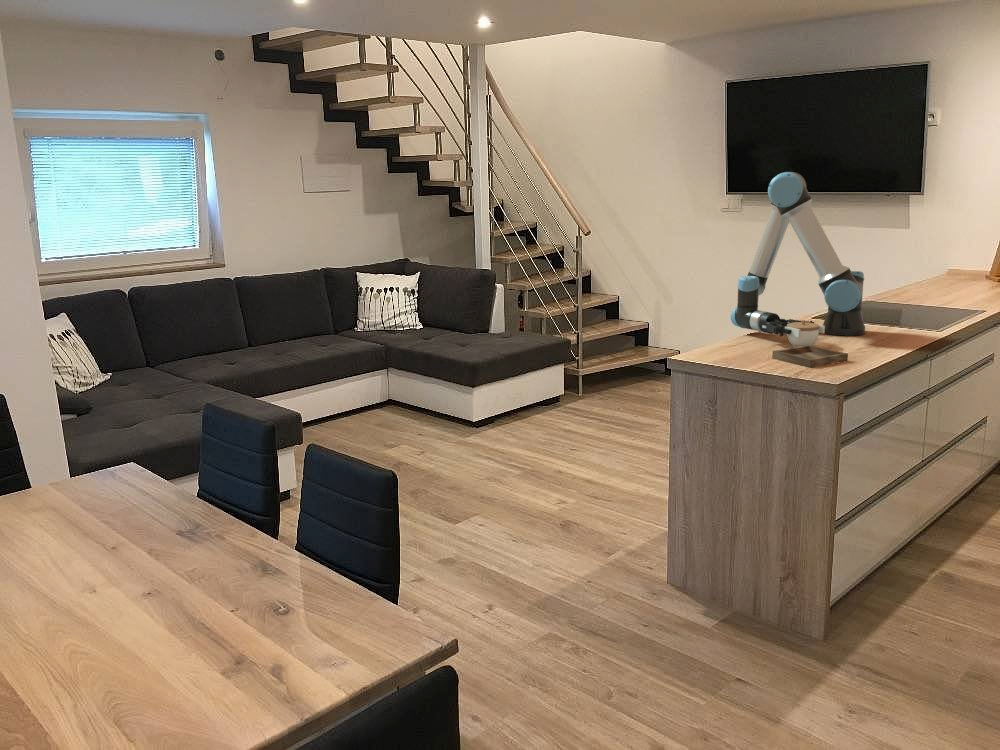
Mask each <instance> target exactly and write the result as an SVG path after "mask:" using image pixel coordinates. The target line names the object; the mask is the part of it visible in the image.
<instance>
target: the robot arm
mask: <svg viewBox="0 0 1000 750" xmlns="http://www.w3.org/2000/svg"><path fill="white" fill-rule="evenodd" d="M767 195H768V198H769V200H770V201H771V203H770V206H771V210H770V213H769V216H768V219H767V222H766V224H765V226H764V227H765V228H764V230H763V233H762V235H761V238H760V241H759V243H758V246H757V249H756V251H755V254H754V257H753V259H752V262H751V265H750V267H749V271H748V274H747V275H743V276H740V277H739V278H738V283H737V306H736V307H735V308H734V309H732V311H731V314H730V321H731V323H732V325H734V326H736V327H737V328H738V327H739V328H741V329H747V330H753V331H755V332H756V331H757V332H758V333H760V334H761V333H764V334H769V335H773V334H774V335H776V336H777V335H778V334H779V336H780V337H785V336H787V335H790V336H794V337H800V329H796V328H791V327H787V324H789V323H794V322H802V320H799V319H798V320H797V319H791V318H789V319H785V318H780V316H779V314H777V313H773V312H768V311H765V310H759V296H761V295H762V294H764V292H765V290H766V284H767V282H768V278H769V276H770V274H771V271H772V268H773V266H774V263H775V260H776V257H777V256H778V255H777V254H778V252H779V250H780V247H781V244H782V241H783V240H784V237H785V234H786V231H787V229H788V226H789V223H790V225H791V227H792V229H793V231H794V232H795V235H796V236H797V239H798V240H799V242H800V244H801V245H802V247H803V250H804V251H805V253H806V254H807V256H808V258H809V261H810V262H811V264H812V266H813V267H814V269H815V272H816V273H817V275H818V277H819V279H818V281H817V284H818V287H819V288H820V290H821V292H822V294H823V296H824V298H823V299H824V302H825V304H826V305H827V313H826V315H825V317H824V321H823V323H822V324H818V323H817V324H818V325H819V326H820V327H819V334H824V335H825V334H827V335H832V336H840V335H842V337H844V336H845V337H846V336H847V337H848V336H849V337H853V336H862V335H864V334H866V325H865V323H864V322H865V321H864V318H863V313H862V307H863V293H864V281H865V277H864V276H865V275H864V272H863V271H862V270H861V271H860V270H859V271H856V270H855V271H854V270H851V269H850V267H848V266H845V265H843V263H842V262H841V260H840V258H839V256H838V254H837V253H836V251H835V249H834V247H833V245H832V244H831V241H830V239H829V238H828V236H827V234H826V232H825V231H824V228H823V227H822V225H821V223H820V222H819V220H818V217H817V216H816V214H815V212H814V210H813V208H812V207H811V204H812V201H813V198H812V197H811V195H810V193H809V191H808V189H807V183H806V180H805V178H804V177H803V175H801V174H800V173H799V172H794V171H785V172H781V173H779V174H778V173H777V175H775V176H774V177H773V178H772V179H771V181H770V182H769V183H768V188H767ZM805 322H808V323H815V321H813V320H810V321H809V320H808V321H807V320H805ZM784 335H785V336H784ZM843 335H844V336H843Z"/></svg>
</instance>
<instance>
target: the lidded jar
mask: <svg viewBox="0 0 1000 750" xmlns="http://www.w3.org/2000/svg"><path fill="white" fill-rule="evenodd" d="M801 321H802V322H794V323H789V324H787V327H791V328H796V329H800V337H794V336H790V335H786V336H787V339H788V341H789V344H791V346H792V348H794V347H800V346H807V345H811V346H815V344H816V343H817V340H818V338H819V334H820V333H819V327H820V326H819V325H820V324H819V325H818V323H815V322H814V323H808V322H805V321H806V320H805V319H802V320H801Z"/></svg>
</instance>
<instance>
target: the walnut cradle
mask: <svg viewBox="0 0 1000 750" xmlns="http://www.w3.org/2000/svg"><path fill="white" fill-rule="evenodd" d="M848 357H849V353H846V352H844V351H843V352H842V351H837V350H833V349H830V348H824V347H820V346H815V345H812V346H811V345H807V346H800V347H788V348H784V349H783V348H782V349H776V350H772V359H774V360H778V361H781V362H786V363H790V364H792V365H798V366H802V367H805V368H811V367H812V368H817V367H822V365H823V366H828V365H827V364H829V365H833V364H832V363H835V364H838V363H837V362H840V363H844V362H843V361H846V362H848V360H849V359H848ZM816 366H817V367H816Z"/></svg>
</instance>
